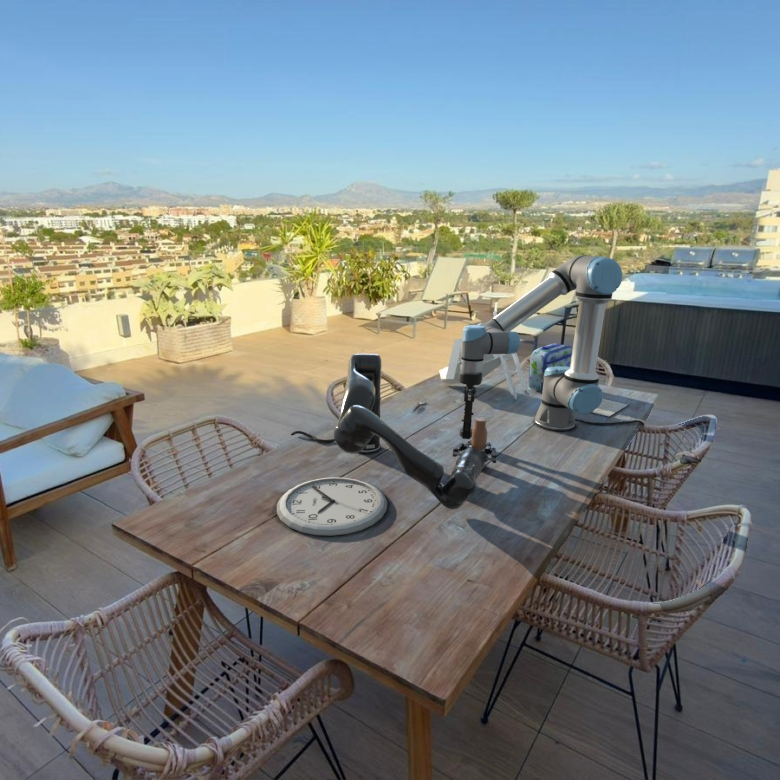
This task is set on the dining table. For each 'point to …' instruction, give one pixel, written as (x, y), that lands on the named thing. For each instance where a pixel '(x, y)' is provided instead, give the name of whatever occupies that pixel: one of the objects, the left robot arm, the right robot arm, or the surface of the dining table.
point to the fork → (420, 403)
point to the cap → (462, 432)
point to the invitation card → (609, 407)
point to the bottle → (479, 434)
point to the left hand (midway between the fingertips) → (480, 443)
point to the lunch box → (547, 362)
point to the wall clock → (331, 506)
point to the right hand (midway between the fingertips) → (466, 435)
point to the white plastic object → (489, 364)
